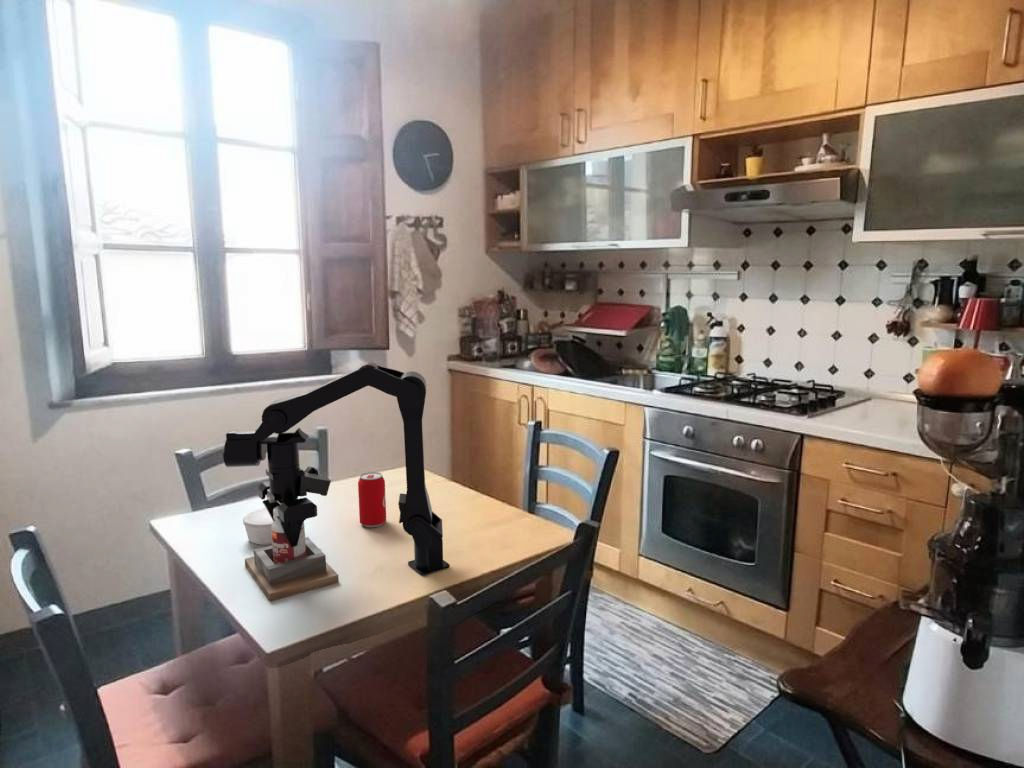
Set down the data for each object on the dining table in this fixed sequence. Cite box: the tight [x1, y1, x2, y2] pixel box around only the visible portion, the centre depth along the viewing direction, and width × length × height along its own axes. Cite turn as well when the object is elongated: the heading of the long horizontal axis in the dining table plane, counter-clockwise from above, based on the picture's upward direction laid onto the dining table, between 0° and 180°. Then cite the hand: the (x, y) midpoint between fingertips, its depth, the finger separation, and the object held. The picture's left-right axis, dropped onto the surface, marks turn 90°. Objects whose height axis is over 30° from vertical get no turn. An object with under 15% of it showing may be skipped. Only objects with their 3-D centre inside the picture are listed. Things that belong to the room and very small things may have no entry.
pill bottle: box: [271, 506, 306, 564], centre depth 128 cm, size 6×6×11 cm
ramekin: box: [242, 507, 273, 546], centre depth 147 cm, size 11×11×5 cm
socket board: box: [244, 536, 340, 602], centre depth 129 cm, size 18×13×4 cm
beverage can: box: [357, 471, 387, 528], centre depth 154 cm, size 6×6×12 cm
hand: (289, 540), depth 128 cm, fingers closed on pill bottle, 6 cm apart
